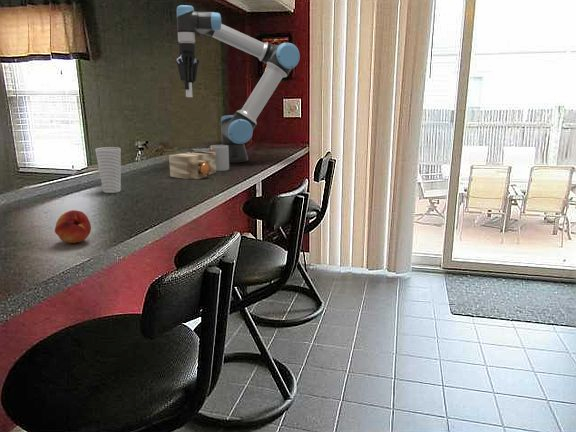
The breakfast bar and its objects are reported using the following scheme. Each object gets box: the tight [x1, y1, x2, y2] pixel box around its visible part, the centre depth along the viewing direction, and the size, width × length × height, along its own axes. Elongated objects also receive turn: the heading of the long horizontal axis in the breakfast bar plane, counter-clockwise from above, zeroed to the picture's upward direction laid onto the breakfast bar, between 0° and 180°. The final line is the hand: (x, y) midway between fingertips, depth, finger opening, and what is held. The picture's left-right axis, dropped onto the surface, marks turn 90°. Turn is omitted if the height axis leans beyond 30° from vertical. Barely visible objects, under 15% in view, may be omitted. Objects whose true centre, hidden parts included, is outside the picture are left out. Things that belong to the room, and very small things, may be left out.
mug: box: [204, 144, 230, 172], centre depth 215 cm, size 12×8×11 cm
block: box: [168, 146, 217, 180], centre depth 200 cm, size 18×14×11 cm
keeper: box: [191, 147, 215, 152], centre depth 204 cm, size 5×11×2 cm, turn 57°
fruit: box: [54, 209, 92, 244], centre depth 111 cm, size 8×8×8 cm
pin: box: [198, 163, 211, 176], centre depth 197 cm, size 5×17×5 cm, turn 57°
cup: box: [94, 146, 122, 194], centre depth 167 cm, size 8×8×16 cm
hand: (189, 97), depth 216 cm, fingers closed
